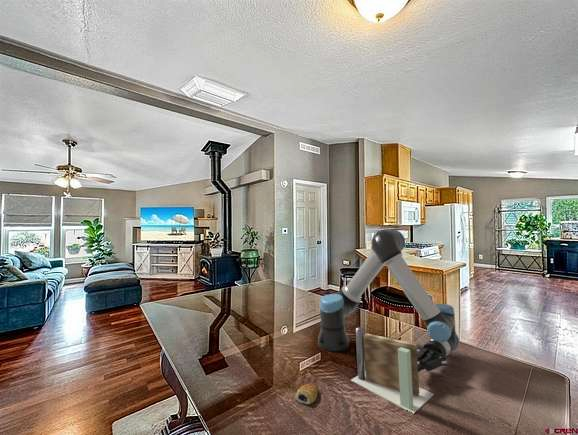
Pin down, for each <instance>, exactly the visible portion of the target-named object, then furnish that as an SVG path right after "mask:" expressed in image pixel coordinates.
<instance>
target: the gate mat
mask: <svg viewBox="0 0 578 435" xmlns="http://www.w3.org/2000/svg"><path fill="white" fill-rule="evenodd" d="M365 378H366V370H365ZM350 381H351V382H353V383H354V384H357V385H358V386H360V387H362V388H364V389H365V390H367V391H369V392H371V393H373V394H375V395H377V396H379V397H380V398H383V399H384V400H386V401H388V402H390V403H392V404H394V405H395V406H398V407H399V408H401V409H403V410H405V411H407V410H408V411H407V412H409V411H410V412H412V413H413V414H412V413H411V414H412V415H414V413H415V412H416V411H417V410H418V411H419V410H420V409H421V408H422V407H423V406H424V405H425V404H427V402H428V401H429V400H430V399H431V398H432V397H433V396H434V394H435V393H432V392H430V391H428V390H426V389H424V388H422V387H419V396H417V395H414V394H413V407H412V408H411V409H410V410H409V409H407V408H405V407H403V406H401V404H400V390H398V389H395V388H392V387H389V386H385V385H382V384H379V383H376V382H373V381H370V380H367V379H365V380H360V379H358V375H357V376H355V377H353V378H351V379H350ZM418 411H417V412H418ZM410 412H409V413H410ZM417 412H416V413H417ZM416 413H415V414H416Z"/></svg>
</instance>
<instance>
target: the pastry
mask: <svg viewBox="0 0 578 435" xmlns="http://www.w3.org/2000/svg"><path fill="white" fill-rule="evenodd" d="M318 392H319V389H318V386H317V385H316V384H314V383H311V382H310V383H306V384H303V385H301V386H300V388H298V389H297V391H296V394H295V396H294V399H295V401H296V400H297V403H300V404H305V405H313V403H315V401H316V399H317V397H318V394H319V393H318Z"/></svg>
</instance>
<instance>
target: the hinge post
mask: <svg viewBox="0 0 578 435" xmlns="http://www.w3.org/2000/svg"><path fill="white" fill-rule="evenodd" d="M355 343H356V344H355V345H356V346H355V347H356V364H357V376H358V379H360V380H365V379H366V378H365V371H366V369H365V349H364V328H363V327H361V326H356V327H355Z"/></svg>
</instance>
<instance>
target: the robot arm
mask: <svg viewBox="0 0 578 435" xmlns="http://www.w3.org/2000/svg"><path fill="white" fill-rule="evenodd" d="M405 246H406V238H405V235H403V233H402V232H400V231H399V230H397V229H394V228H389V229H382V230H379V231H377V232H376V233H375V234H374V235H373V236H372V238H371V247H370V249H371V252H370V253H369V255H368V256H367V257H366V259H365V260H364V261H363V263H362V264H361V266H360V267H359V268H358V270H357V271H356V273H355V274H354V275H353V277H352V278H351V280H349V282H348V283H347V285H343V286H342V287H341V288H340V290H338V292H337V293H329V294H325V295H323V296H321V297H320V299H319V313H320V314H319V315H320V331H319V335H318V338H317V345H318V347H319V348H320V349H322V350H324V351H327V352H342V351H345V350H347V349H348V348H349V347H350V340H349V336H348V334H347V332H346V329H345V328H346V327H345V326H346V325H345V318H346V317H348V316H349V315H351V314H353V313H355V311H357V309H358V307H359V304H360V302H361V301H362V298H361V296H362V295H363V294H364V292H365V291H366V290H367V288H368V287H369V286H370V285H371V283H372V282H373V280H374V279H375V278H376V277H377V275H378V274H379V273H380V271H381V270H382V269H383V268H384V266H385V267H386V268H387V269H388V270H389V272H390V274H391V275H392V276H393V278H394V280H395V281H396V282H397V284H398V285H399V287H400V288H401V290H402V291H403V293H404V294H405V296H406V297H407V299H408V300H409V302H410V303H411V305H413V308H414V309H415V310H416V312H417V313H418V315H419V316H420V318H421V319H422V321H423V322H424V324H425V326H426V327H427V333H428V336H429V337H430V338H431V339H430V340H428V341H427V342H426V343H424V345H423V347H421V348H419V349H417V360H418V373H420V372H421V371H424V370H425V371H426V372H431V371H433V370H435V369H438V368H440V367H444V366H447V364H448V363H447V362H448V361H447V356H449V355H450V354H451V353H452V352H454V351H455V350H457V348H458V347H459V345H460V337H459V335H458V334H457V332H456V320H455V316H456V314H455V309H454V307H453V306H452V305H450V304H446V303H437V304H436V303H435V302H434V300H433V298H432V297H431V296H430V294H429V292H427V290H426V289H425V287H424V285H422V283H421V282H420V281H419V279H418V277H417V276H416V275H415V273H414V272H413V271H412V269H411V267H410V266H409V265H408V264H407V262H406V260H405V259H404V258H403V252H402V251H403V249H404V248H405Z"/></svg>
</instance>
